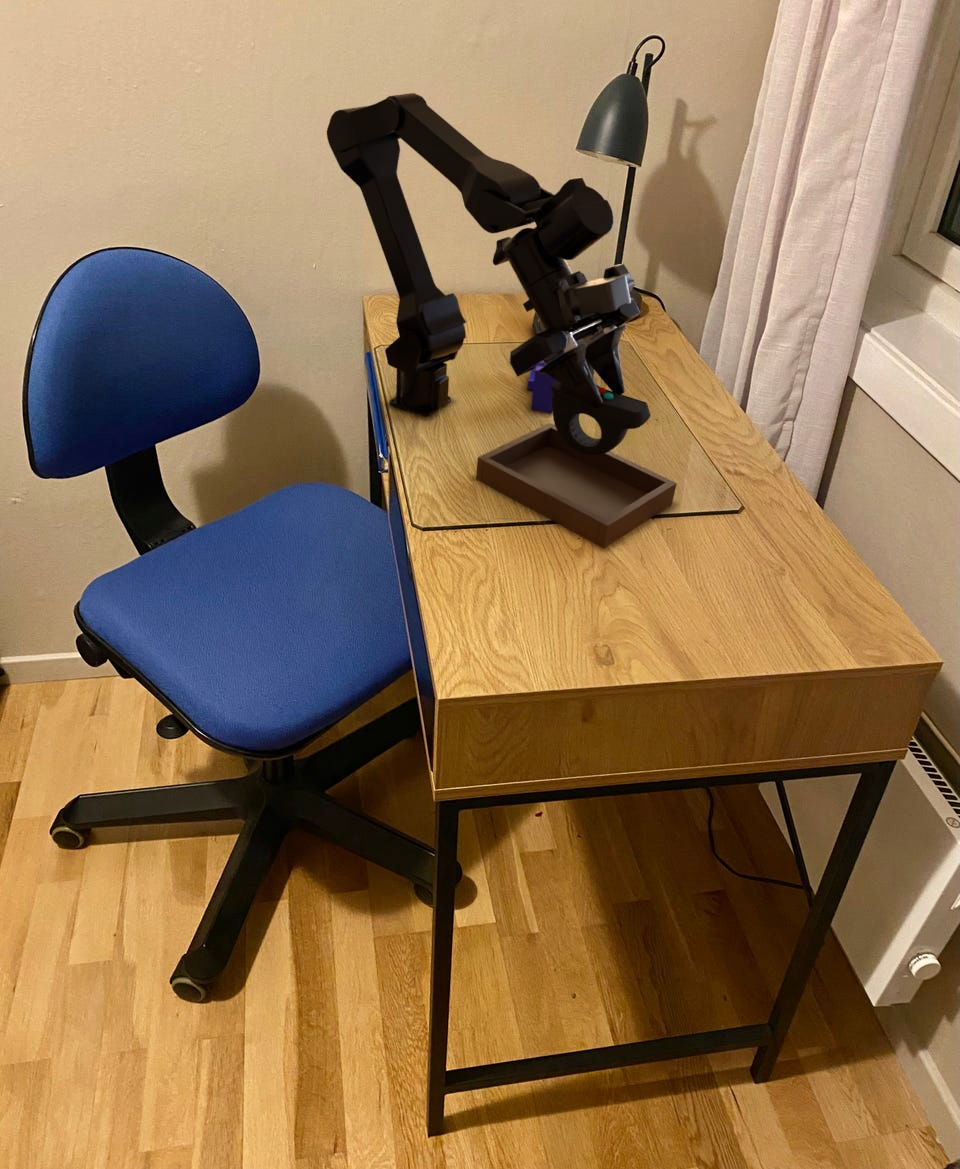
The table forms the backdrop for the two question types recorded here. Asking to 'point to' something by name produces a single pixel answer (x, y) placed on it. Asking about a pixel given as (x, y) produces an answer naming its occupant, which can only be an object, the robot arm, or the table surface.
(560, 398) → the controller
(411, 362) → the robot arm
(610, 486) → the tray
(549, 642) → the table surface
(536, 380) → the purple stepped block
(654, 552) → the table surface
